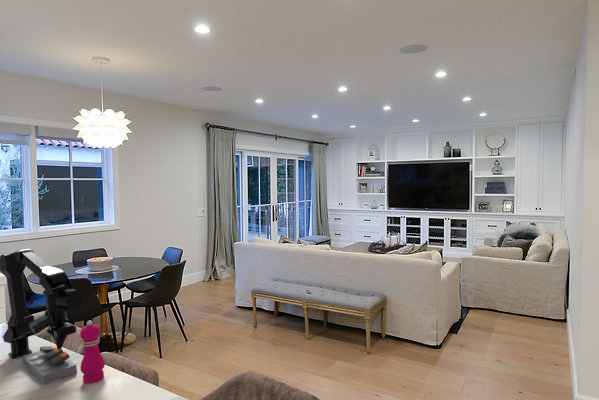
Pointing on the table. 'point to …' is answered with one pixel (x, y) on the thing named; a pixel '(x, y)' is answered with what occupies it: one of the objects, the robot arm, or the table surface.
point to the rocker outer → (59, 358)
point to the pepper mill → (91, 354)
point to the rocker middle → (53, 354)
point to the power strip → (47, 367)
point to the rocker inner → (47, 349)
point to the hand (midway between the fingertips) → (59, 348)
